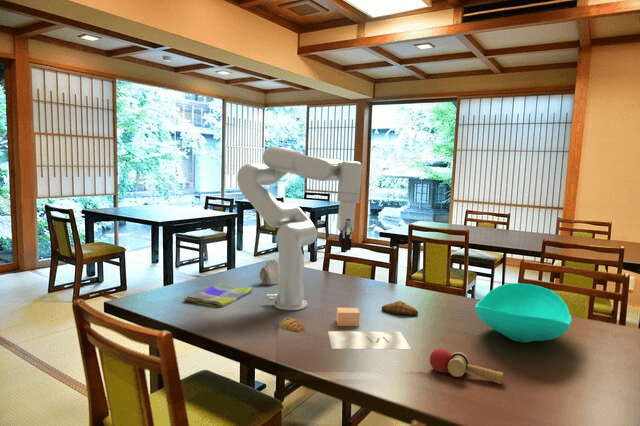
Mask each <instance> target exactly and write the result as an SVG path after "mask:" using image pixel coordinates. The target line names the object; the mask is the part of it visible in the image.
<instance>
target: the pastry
mask: <svg viewBox="0 0 640 426" xmlns="http://www.w3.org/2000/svg"><path fill="white" fill-rule="evenodd" d="M278 326H279V327H280V328H281V329H282V330H286V331H290V332H295V333H303V332H306V331H307V329H306V327H305V325H304V324H303V323H302V322H301V321H300V320H298V319H295V318H292V317H284V319H282V320H281V321H280V323H279V325H278Z"/></svg>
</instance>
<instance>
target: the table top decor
mask: <svg viewBox="0 0 640 426" xmlns="http://www.w3.org/2000/svg"><path fill="white" fill-rule="evenodd" d="M474 308H475V313H476V315H477V316H478V317H479V319H480V320H481V321H482V322H483V323H484V324H485V325H487V326H488V327H490V328H491V329H493V330H494V331H496V332H497V333H499V334H501V335H503V336H505V337H506V338H508V339H510V340H512V341H515V342H520V343H531V342H540V341H541V342H543V341H549V340H555V339H556V338H558V337H560V336H563V335H564V334H565V333H566V332H567V331H568V330H569V328H570V327H571V323H572V321H573V320H572V315H571V312H570V310H569V307H568V305H567V304H566V303H565V301H564V300H563V299H562V297H561V296H560V295H559V294H557V293H556V292H555V291H553V290H552V289H548V288H546V287H543V286H540V285H535V284H530V283H519V282H516V283H505V284H502V285H499V286H497V287H495V288H493V289H491V290H489V291H488V293H487V294H485V296H483V298H481V299H480V300H478V301H477V303H476V305H475V306H474Z"/></svg>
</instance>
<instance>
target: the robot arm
mask: <svg viewBox="0 0 640 426" xmlns="http://www.w3.org/2000/svg"><path fill="white" fill-rule="evenodd" d="M262 161H263V163H254V162H253V163H248V164H244V165H242V166H241V167H240V168H239V170H238V172H237V178H236V179H237V181H236V182H237V185H238V188H239V191H240V192H241V194H242V196H244V198H246V200H247V201H248V202H249V203H250V204H251V205H252V206H253V208H254V209H255V210H256V211H257V212H258V213H257V214H259V215H260V217H261V218H262V219H263V220H264V221H265V223H267V225H268V226H269V227H271V228H279V229H278V230H277V232H276V244H277V249H278V262H279V278H278V284H277V285H278V286H277V290H278V291H277V292H276V293H274V294H271V293H270V294H269V293H267V294H266V297H265V298H266V299H265V300H268V301H269V302H270V301H271V302H273V306H274V307H275V308H276V309H279V310H281V311H300V310H303V309H305V308H307V306H308V301H306V300H305V299H304V286H305V285H304V279H305V277H304V276H305V257H304V253H303V250H302V247H306V246H309V245H312V244H313V243H314V242H315V241H316V239H317V237H318V230H317V227H316V226H315V224H314V223H313V222H312V220H311V219H310V218H309V217H308V215H306V213H305V212H304V211H303V210H302V209H301V208H300V207H299V206H298V205H297V204H295V203H294V202H292V201H291V202H290V201H278V199H276V197H275V196H274V195H273V194H272V192H270V191H269V190H268V189H267V188H265V187H264V186H269V185H270V186H271V185H273V184H275V183H277V182H278V181H280V180H281V179H282V178H283V177H284V176H286V175H287V174H288V173H289V174H292V175H293V174H294V175H296V176H298V177H302V178H305V179H310V180H315V181H321V182H327V181H328V182H333V181H334V182H336V181H337V182H338V186H337V199H336V202H338V203H339V206H338V215H337V224H336V228H337V229H338V232H339V235H338V237H339V238H338V244H339V245H341V246H340V250H342V251H351V249H352V241H353V238H352V233H353V231H354V227H355V217H356V205H357V204H360V197H361V187H362V185H361V182H362V174H363V173H362V171H363V165H362V163H361V162H360V161H354V160H342V159H337V158H321V157H315V156H310V155H306V154H305V153H304V152H303V151H300V150H294V149H292V148H289V147H280V146H270V147H268V148H267V149H265V150H264V152H263V154H262Z"/></svg>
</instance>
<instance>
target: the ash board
mask: <svg viewBox="0 0 640 426" xmlns="http://www.w3.org/2000/svg"><path fill="white" fill-rule="evenodd" d="M327 334H328V338H329V343H330V348H331V350H412V348H411V346H410V344H409V343H408V341H407V340H406V338H405V337H404V335H403V334H402V332H401V331H349V330H348V331H347V330H346V331H340V330H338V331H337V330H336V331H330V330H328V331H327Z"/></svg>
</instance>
